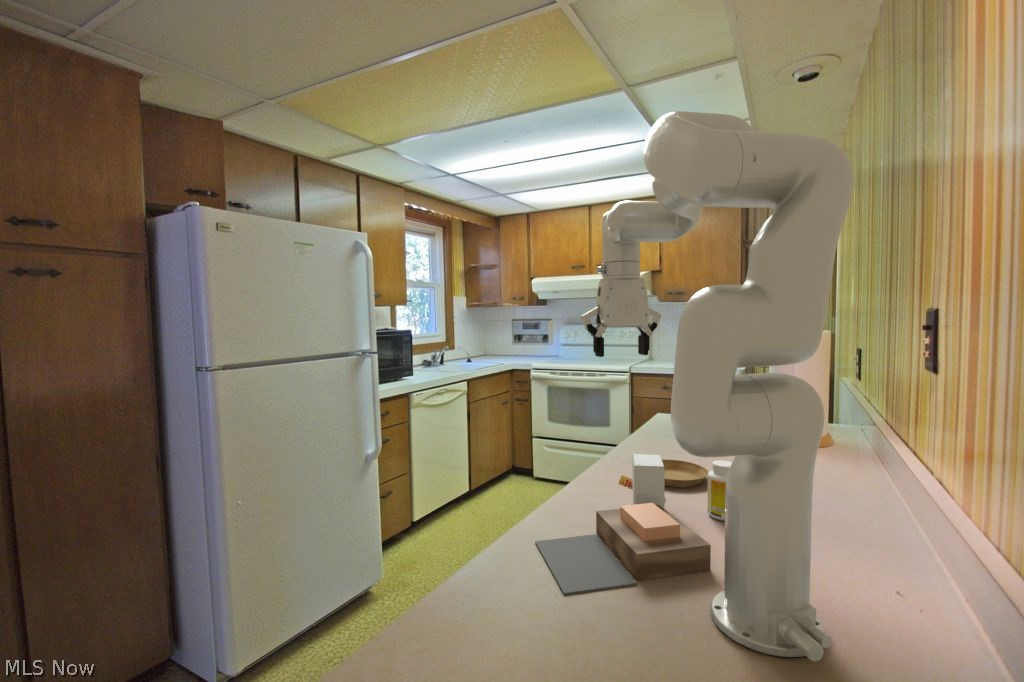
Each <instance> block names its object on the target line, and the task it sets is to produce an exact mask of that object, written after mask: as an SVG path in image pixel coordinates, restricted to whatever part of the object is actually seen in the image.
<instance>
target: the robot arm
mask: <svg viewBox="0 0 1024 682" xmlns="http://www.w3.org/2000/svg"><path fill="white" fill-rule="evenodd" d="M643 161H644V165H645V168H646V170H647V171H648V173H649V175H650V176H652V183H651V184H652V186H651V187H652V191H653V195H654V197H655V199H656V200H655V201H652V200H641V201H640V200H623V201H619V202H617V203H615V204H614V205H613V207H611V209H610V210H609V211H607V212H605V213H604V214H603V215H602V223H601V227H602V228H601V229H602V230H601V231H602V234H601V235H602V241H601V242H602V243H601V244H602V263H601V265H600V266H596V269H595V272H596V274H600V275H601V277H602V278H600V279H599V282H598V286H597V287H598V288H597V294H596V301H595V302H596V304H595V307H593V308H592V309H590V310H588V311H587V312H585V313H583V314H582V315H580V320H581V322H582V324H583V326H584V329H585V330H586V331H587V332H588V333H589V334H590V335H591V337H592V339H593V341H592V342H593V345H592V346H593V347H592V351H593V353H594V354H595V357H599V358H604V356H605V338H604V337H603V334H604V333H605V331H606V330H607V329H608V328H611V329H613V328H614V329H615V328H616V329H619V328H620V329H621V328H635V329H636V330H638V332H639V333H640V334H639V335H638V336H637V338H638V339H637V346H638V347H637V348H638V351H637V353H638V354H639V355H642V356H648V355H649V351H650V339H651V338H650V336H652V334H653V332H654V331H655V330H656V329H657V328H658V324H659V322H660V320H661V318H662V313H660V312H658V311H655V310H654V309H652V308H651V307H650V306H649V299H648V298H649V296H648V289H647V285H646V280H645V278H644V277H641V243H670V242H674V241H677V240H679V239H680V238H682V237H684V236H685V235H686V234H688V233H689V232H691V231H692V230H693V229H695V227H696V226H697V224H698V223H699V221H700V219H701V216H702V213H703V209H704V207H711V208H712V207H713V208H740V209H742V208H747V209H748V208H751V209H752V208H753V209H754V208H757V209H758V208H763V209H764V208H765V209H772V210H775V211H774V212H773V213H771V215H770V216H769V217H768V218H767V219H766V220H765V222H764V223H763V224H762V225H761V227H760V229H759V230H758V232H757V233H756V235H755V237H754V239H753V241H752V243H751V247H750V251H749V258H748V267H747V273H746V277H745V281H744V282H743V283H742V284H717V285H712V286H707V287H703V288H701V289H700V290H698V291H696V292H695V293H694V294H693V295H692V296H691V297H690V298H689V299H688V300H687V302H686V303H685V305H684V307H683V310H682V312H681V314H680V317H679V318H680V319H679V322H678V327H677V335H676V345H675V354H674V366H673V376H672V377H673V378H672V386H671V387H672V388H671V389H672V390H671V400H670V423H671V428H672V433H673V435H674V438H675V439H676V442H677V444H678V445H679V446H680V448H681V449H682V450H683V451H684V452H686V453H688V454H689V455H691V456H695V457H700V458H724V457H725V458H726V457H733V456H734V458H733V460H732V461H731V462H732V464H731V466H730V469H729V472H728V475H727V479H726V488H725V521H724V566H723V567H724V574H723V575H724V577H723V578H724V580H723V581H724V582H723V583H724V584H723V587H724V589H723V590H722V591H720V592H719V593H717V594H715V596H714V597H713V598H712V601H711V605H710V613H711V618H712V620H713V622H714V624H715V625H716V626H717V627H718V629H719V630H720V631H721V632H723V633H724V634H725V635H726V636H727V637H728V638H730V639H731V640H733V641H735V642H736V643H738V644H740V645H742V646H744V647H746V648H748V649H750V650H753V651H755V652H759V653H762V654H766V655H771V656H775V657H780V658H781V657H784V658H799V657H800V658H801V657H806V658H808V659H809V660H810V661H812V662H818V661H820V660H821V659H822V657H823V655H824V653H825V651H824V650H825V649H828V648H830V647H831V645H832V643H833V640H832V637H831V636H830V635H828V634H827V633H826V632H825V627H824V625H823V623H822V621H821V620H820V619H819V617H818V616H817V608H816V607H814V606H813V605H811V604H810V601H811V599H810V598H811V596H810V595H811V556H812V555H811V553H812V517H813V516H812V515H813V514H812V512H813V490H814V489H813V488H814V475H815V466H816V462H817V461H816V459H817V456H818V450H819V449H820V443H821V440H822V437H823V431H824V427H825V426H824V425H825V408H824V405H823V401H822V399H821V396H820V394H819V393H818V392H817V390H816V389H815V388H814V386H812V384H811V383H808V382H807V381H806V380H804V379H802V378H800V377H798V376H795V375H792V374H787V373H780V372H759V373H740V374H736V373H737V370H738V368H739V369H740V368H755V367H756V368H757V367H774V366H777V367H778V366H788V365H794V364H795V365H796V364H800V363H803V362H805V361H807V360H809V359H811V358H813V356H814V355H815V354H816V352H817V350H818V349H819V347H820V344H821V340H822V337H823V333H824V327H825V322H826V316H827V309H828V303H829V299H830V297H829V296H830V291H831V286H832V279H833V273H834V266H835V257H836V252H837V246H838V243H839V239H840V236H841V233H842V229H843V226H844V224H845V221H846V217H847V214H848V211H849V208H850V204H851V202H852V201H851V200H852V197H853V196H852V195H853V190H854V171H853V166H852V164H851V161H850V159H849V157H848V156H847V154H846V153H845V151H844V150H843V149H842V148H841V147H840V146H839V145H837V144H836V143H834V142H833V141H830V140H828V139H825V138H821V137H819V136H814V135H807V134H801V133H789V132H775V131H755V130H754V129H753V128H752V126H751V125H750V124H749V123H748V122H747V121H746V120H744V119H743V118H741V117H738V116H735V115H731V114H726V113H715V112H714V113H713V112H698V111H697V112H696V111H682V110H680V111H679V110H678V111H671V112H669V113H666V114H664V115H662V116H661V117H660V118H658V119H657V120H656V121H655V123H654V124H653V125H652V127H651V128H650V130H649V131H648V133H647V136H646V138H645V142H644V146H643ZM594 317H595V323H596V325H593V323H592V321H591V319H592V318H594Z"/></svg>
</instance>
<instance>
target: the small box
mask: <svg viewBox="0 0 1024 682" xmlns="http://www.w3.org/2000/svg"><path fill="white" fill-rule="evenodd" d="M662 460H663V459H662V456H661V454H646V453H645V454H644V453H643V454H642V453H632V461H631V462H632V463H631V464H632V465H631V466H632V479H633V490H632V505H635V504H644V503H654V504H655V505H660V506H661V507H662V508H663V509H665V507H666V506H665V500H666V495H665V485H664V464H663V462H662ZM665 510H666V509H665Z"/></svg>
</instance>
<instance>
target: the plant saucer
mask: <svg viewBox="0 0 1024 682" xmlns="http://www.w3.org/2000/svg"><path fill="white" fill-rule="evenodd" d="M662 462H663V464H664V486H665V485H666V487H671V486H672V487H673V488H690V486H691V487H695V486H697V485H699V484H701V483H702V482H704V480H705V479H706V478H708V473H709V472H710V471H709V470H708V469H707V468H706V467H704V466H702V465H700V464H696V463H693V462H690V461H686V460H679V459H662Z"/></svg>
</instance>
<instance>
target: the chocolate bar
mask: <svg viewBox="0 0 1024 682" xmlns="http://www.w3.org/2000/svg"><path fill="white" fill-rule="evenodd" d="M617 484H618V485H621V486H623V487H625V488H627V487H628V489H630V490H632V491H633V478H630V477H627V476H625V475H623V474H621V476H620V478H619V481H618V483H617Z"/></svg>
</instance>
